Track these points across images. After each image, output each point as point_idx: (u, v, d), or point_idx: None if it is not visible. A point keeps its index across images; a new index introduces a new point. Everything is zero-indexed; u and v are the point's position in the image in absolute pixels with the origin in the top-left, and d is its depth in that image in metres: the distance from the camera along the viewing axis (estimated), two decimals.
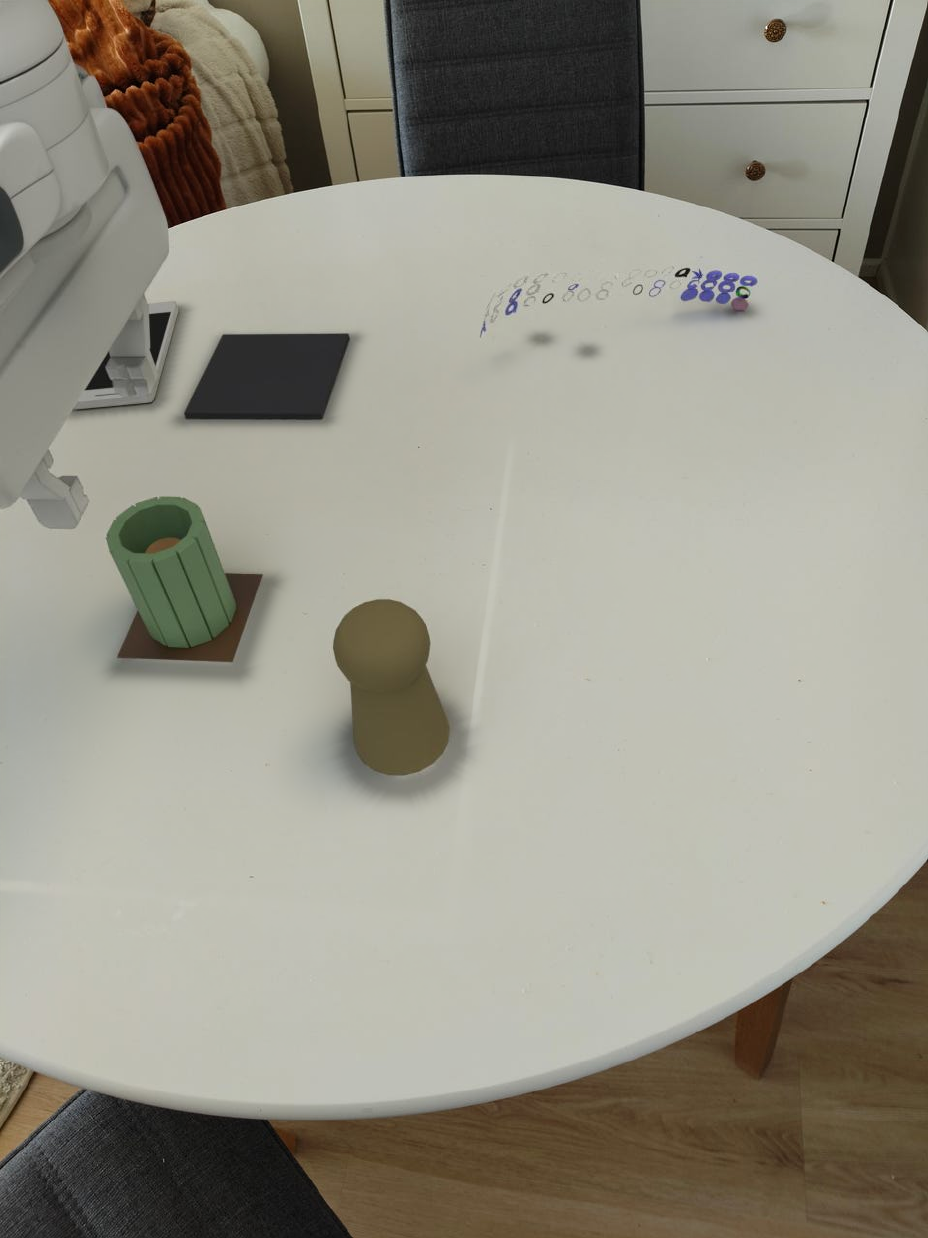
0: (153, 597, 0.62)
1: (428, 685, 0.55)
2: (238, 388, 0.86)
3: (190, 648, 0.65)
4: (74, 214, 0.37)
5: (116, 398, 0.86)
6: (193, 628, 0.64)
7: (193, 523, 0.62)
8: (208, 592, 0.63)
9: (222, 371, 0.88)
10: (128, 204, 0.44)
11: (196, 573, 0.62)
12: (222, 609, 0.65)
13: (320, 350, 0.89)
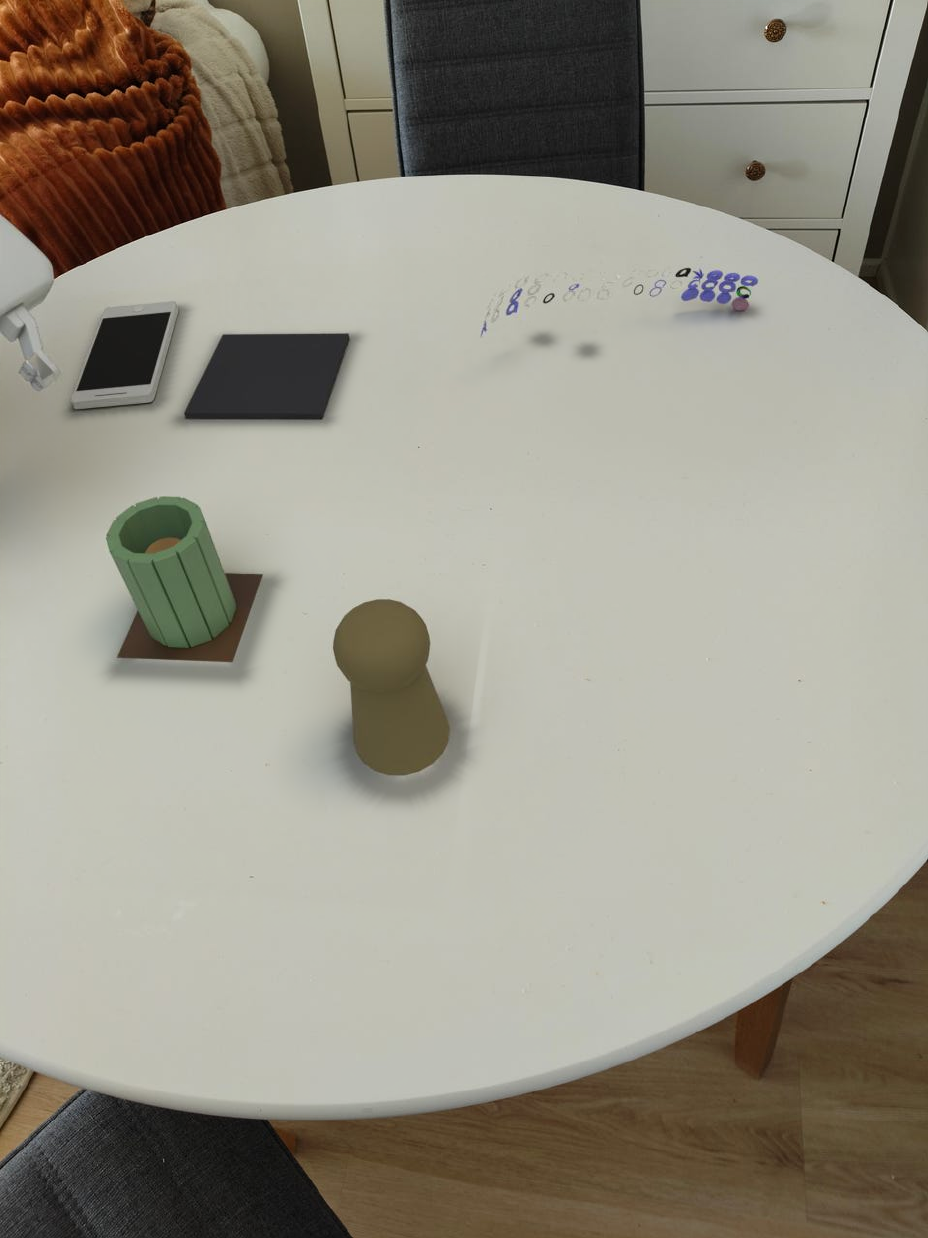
0: (153, 597, 0.62)
1: (428, 685, 0.55)
2: (238, 388, 0.86)
3: (190, 648, 0.65)
4: None
5: (116, 398, 0.86)
6: (193, 628, 0.64)
7: (193, 523, 0.62)
8: (208, 592, 0.63)
9: (222, 371, 0.88)
10: None
11: (196, 573, 0.62)
12: (222, 609, 0.65)
13: (320, 350, 0.89)
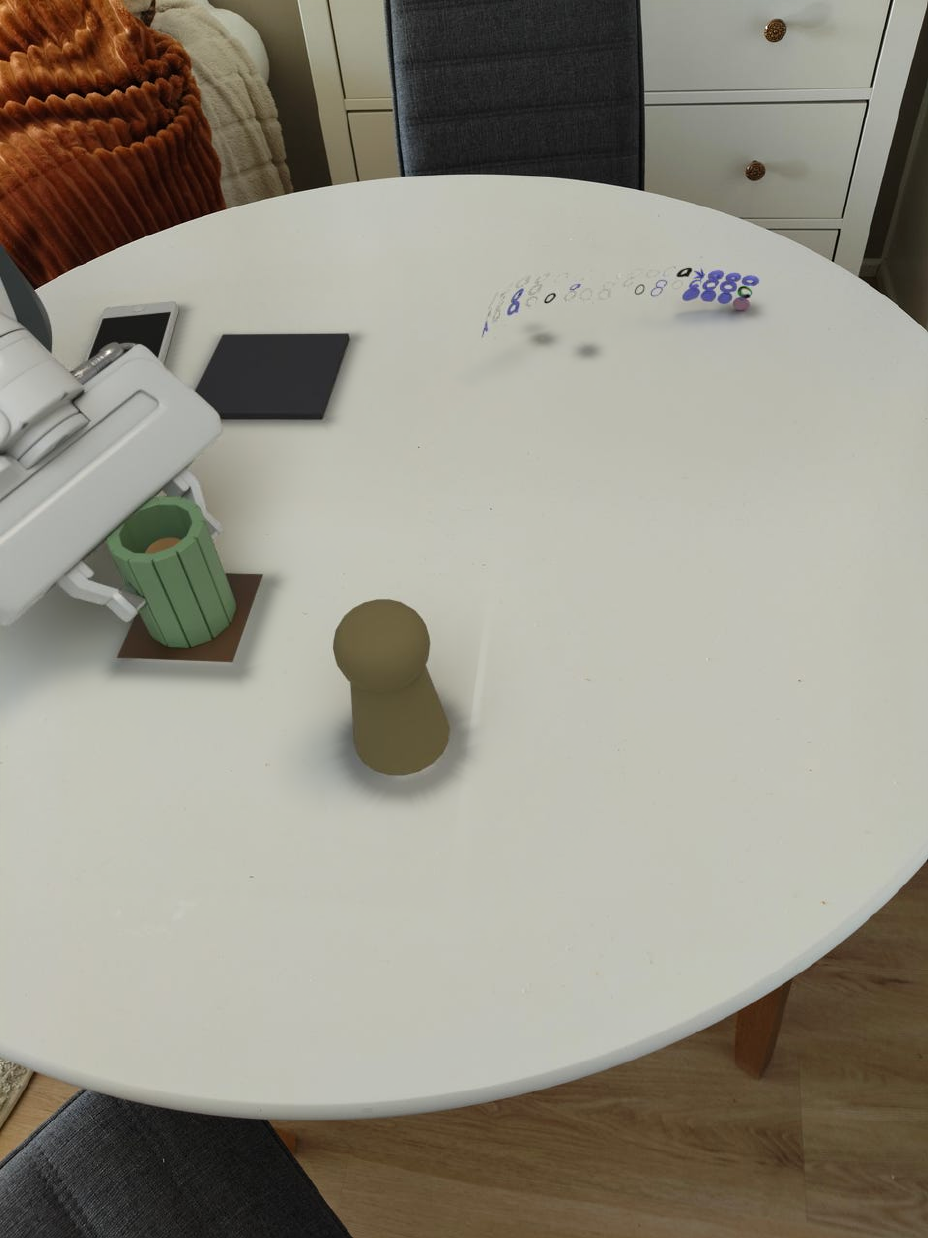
0: (153, 597, 0.62)
1: (428, 685, 0.55)
2: (238, 388, 0.86)
3: (190, 648, 0.65)
4: (48, 428, 0.59)
5: None
6: (193, 628, 0.64)
7: (193, 523, 0.62)
8: (208, 592, 0.63)
9: (222, 371, 0.88)
10: (156, 410, 0.65)
11: (196, 573, 0.62)
12: (222, 609, 0.65)
13: (320, 350, 0.89)
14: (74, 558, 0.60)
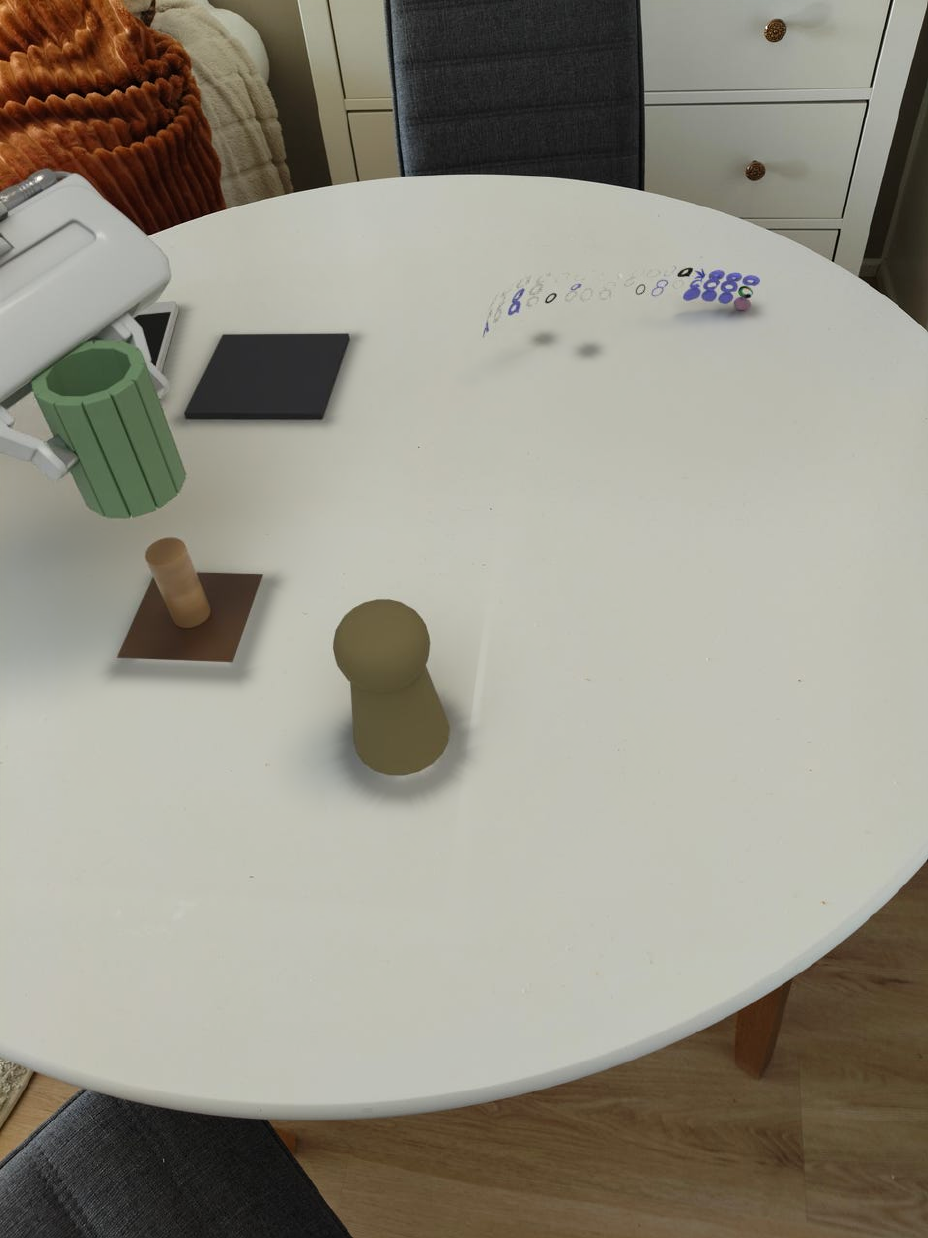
0: (86, 452, 0.54)
1: (428, 685, 0.55)
2: (238, 388, 0.86)
3: (190, 648, 0.65)
4: None
5: None
6: (134, 494, 0.56)
7: (132, 366, 0.53)
8: (151, 450, 0.55)
9: (222, 371, 0.88)
10: (92, 243, 0.56)
11: (135, 424, 0.54)
12: (168, 474, 0.57)
13: (320, 350, 0.89)
14: None
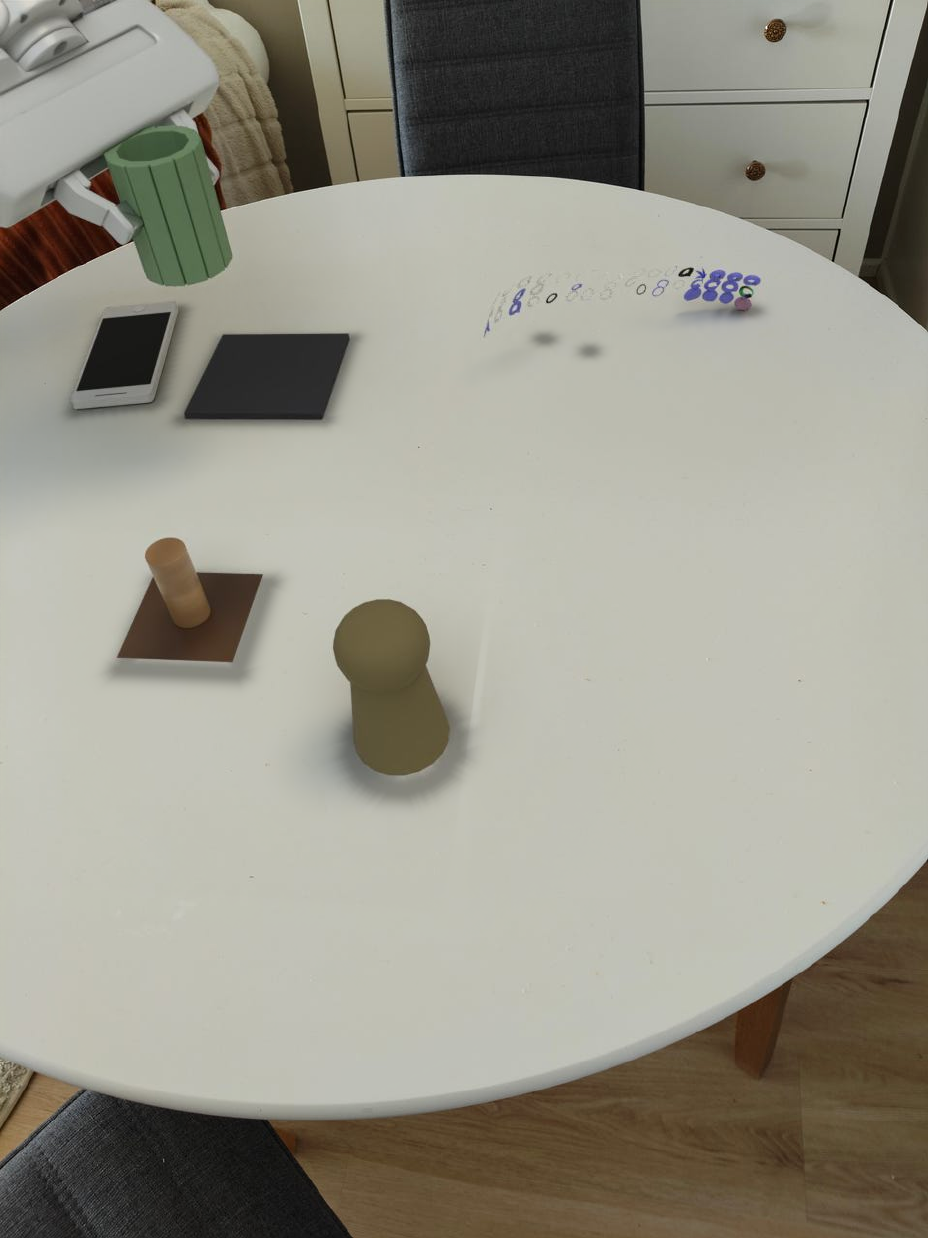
0: (150, 215, 0.63)
1: (428, 685, 0.55)
2: (238, 388, 0.86)
3: (190, 648, 0.65)
4: (46, 30, 0.60)
5: (116, 398, 0.86)
6: (189, 260, 0.65)
7: (190, 140, 0.62)
8: (204, 220, 0.64)
9: (222, 371, 0.88)
10: (153, 46, 0.65)
11: (192, 191, 0.63)
12: (218, 247, 0.66)
13: (320, 350, 0.89)
14: (71, 161, 0.60)
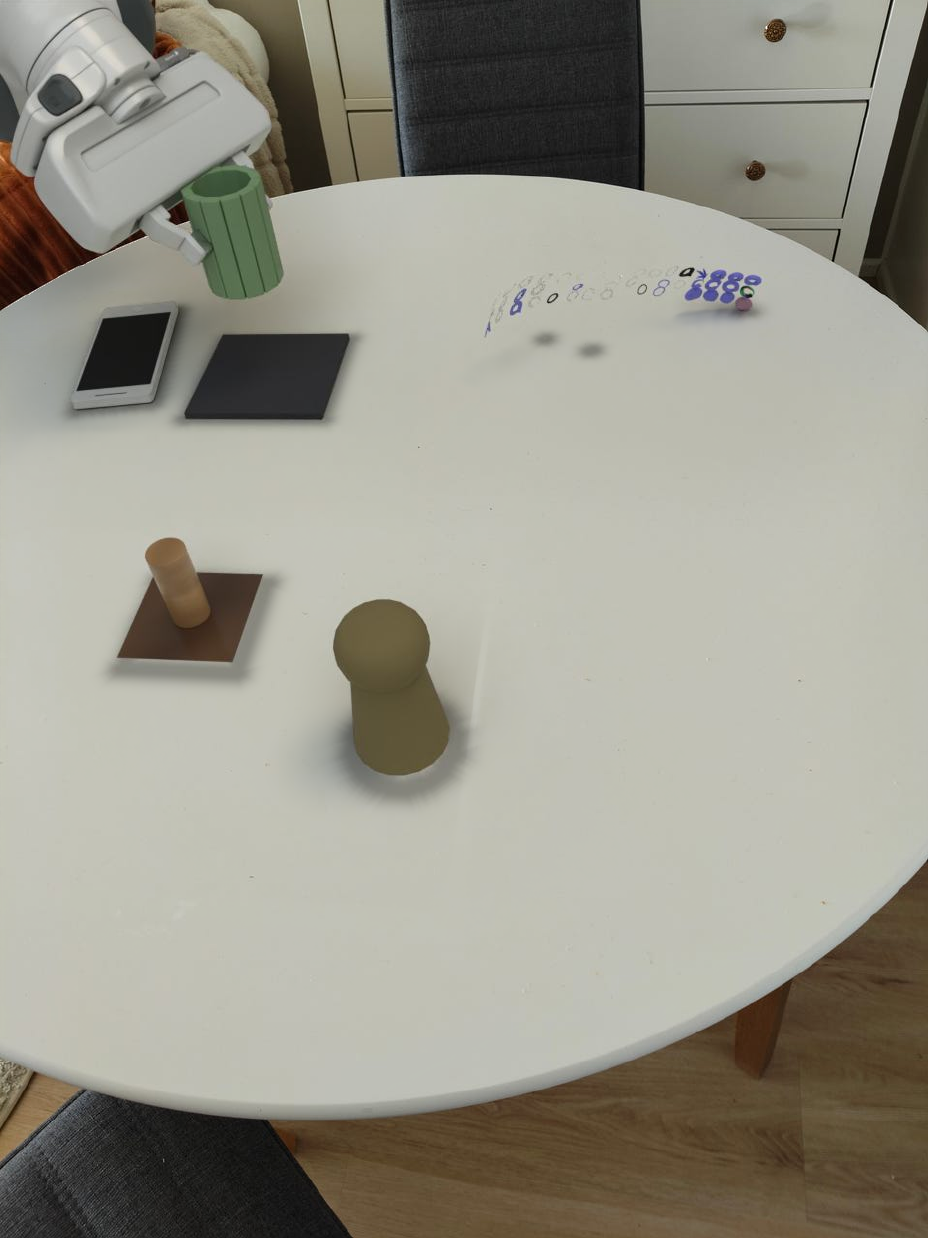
0: (219, 241, 0.75)
1: (428, 685, 0.55)
2: (238, 388, 0.86)
3: (190, 648, 0.65)
4: (134, 89, 0.72)
5: (116, 398, 0.86)
6: (250, 278, 0.78)
7: (252, 178, 0.75)
8: (263, 244, 0.77)
9: (222, 371, 0.88)
10: (217, 98, 0.78)
11: (254, 221, 0.75)
12: (273, 266, 0.79)
13: (320, 350, 0.89)
14: (156, 198, 0.73)
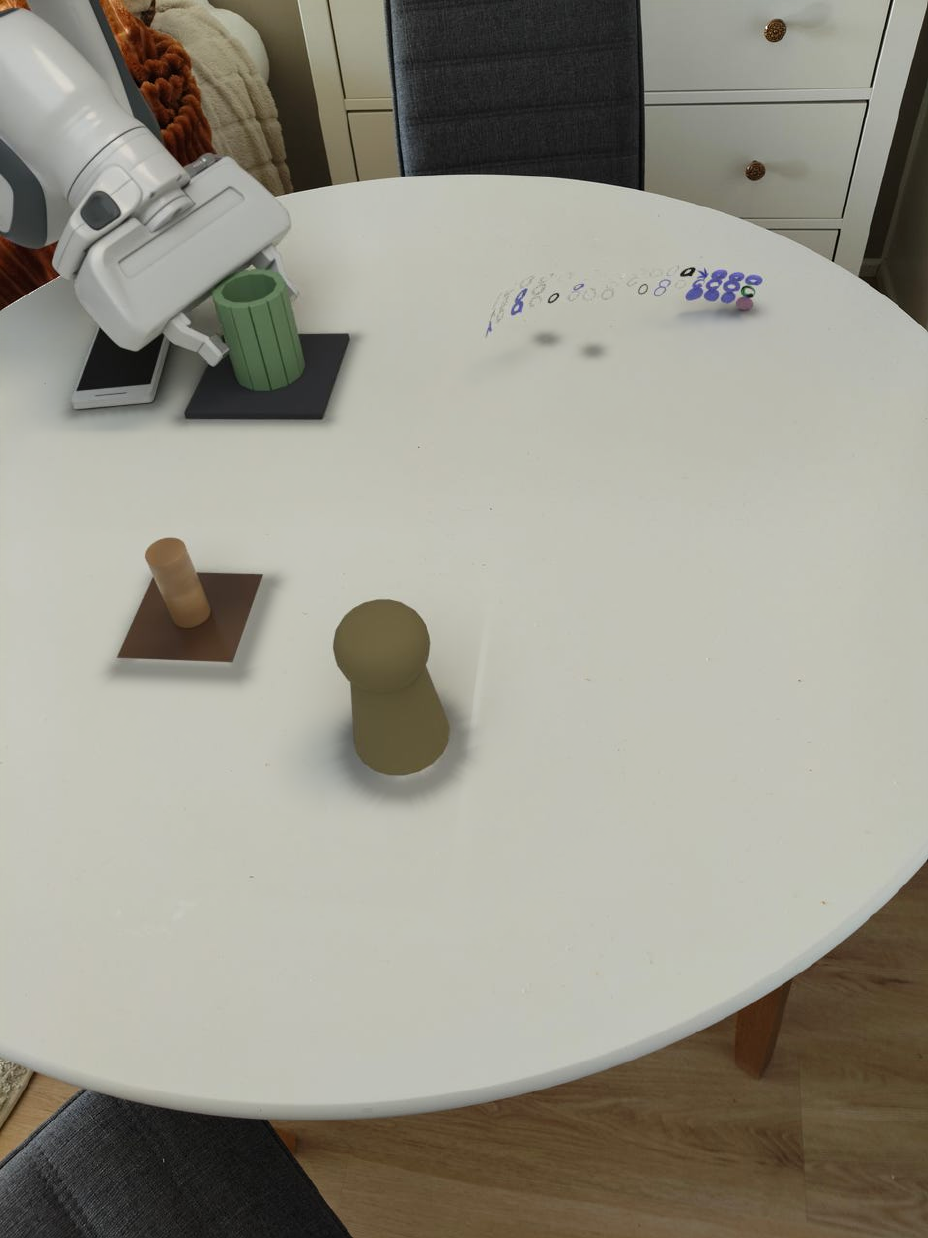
0: (247, 341, 0.82)
1: (428, 685, 0.55)
2: (238, 388, 0.86)
3: (190, 648, 0.65)
4: (167, 201, 0.78)
5: (116, 398, 0.86)
6: (274, 372, 0.84)
7: (277, 284, 0.81)
8: (287, 342, 0.83)
9: (222, 371, 0.88)
10: (242, 202, 0.84)
11: (279, 322, 0.82)
12: (296, 360, 0.85)
13: (320, 350, 0.89)
14: (186, 300, 0.79)
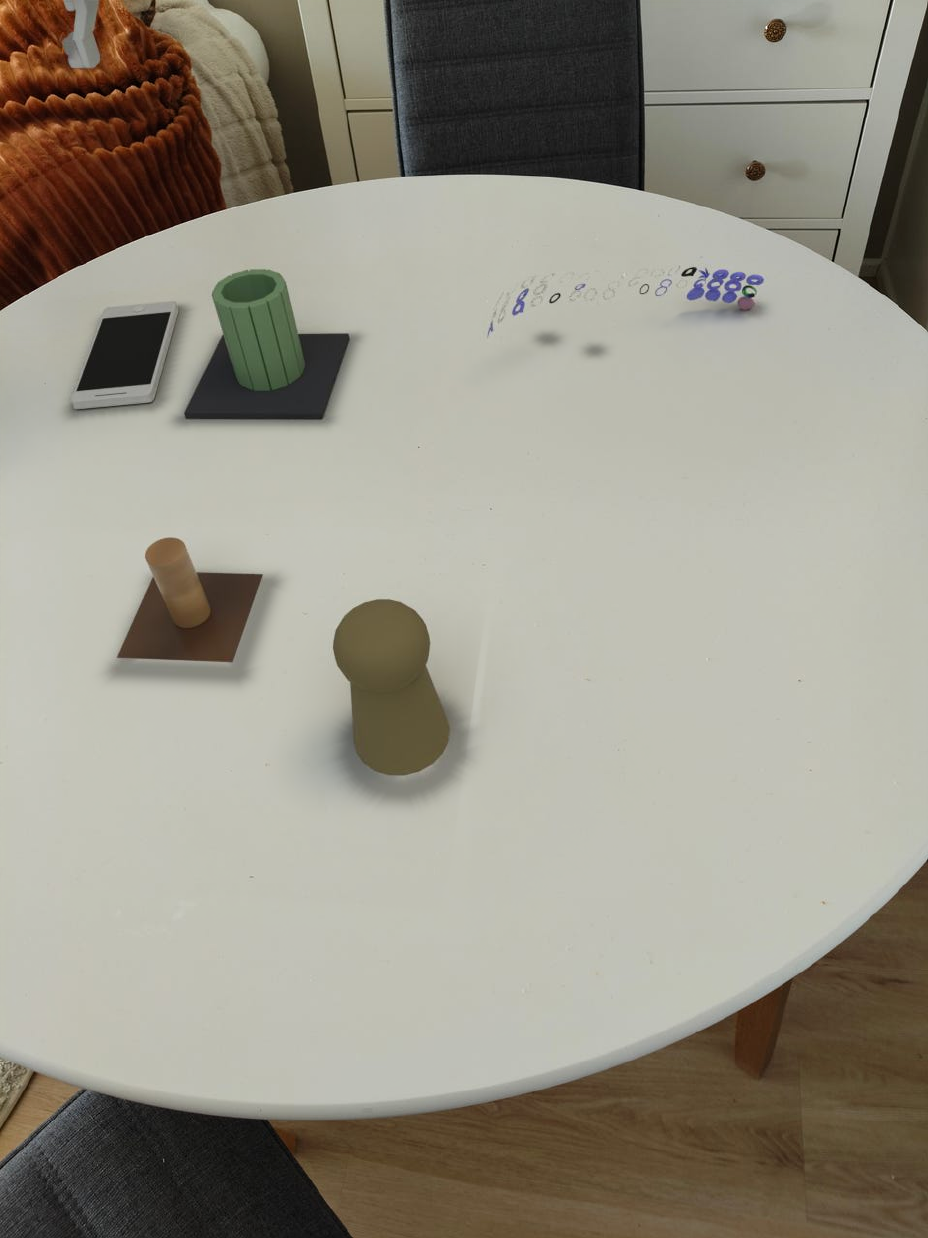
0: (247, 341, 0.82)
1: (428, 685, 0.55)
2: (238, 388, 0.86)
3: (190, 648, 0.65)
4: None
5: (116, 398, 0.86)
6: (274, 372, 0.84)
7: (277, 284, 0.81)
8: (287, 342, 0.83)
9: (222, 371, 0.88)
10: None
11: (279, 322, 0.82)
12: (296, 360, 0.85)
13: (320, 350, 0.89)
14: None
